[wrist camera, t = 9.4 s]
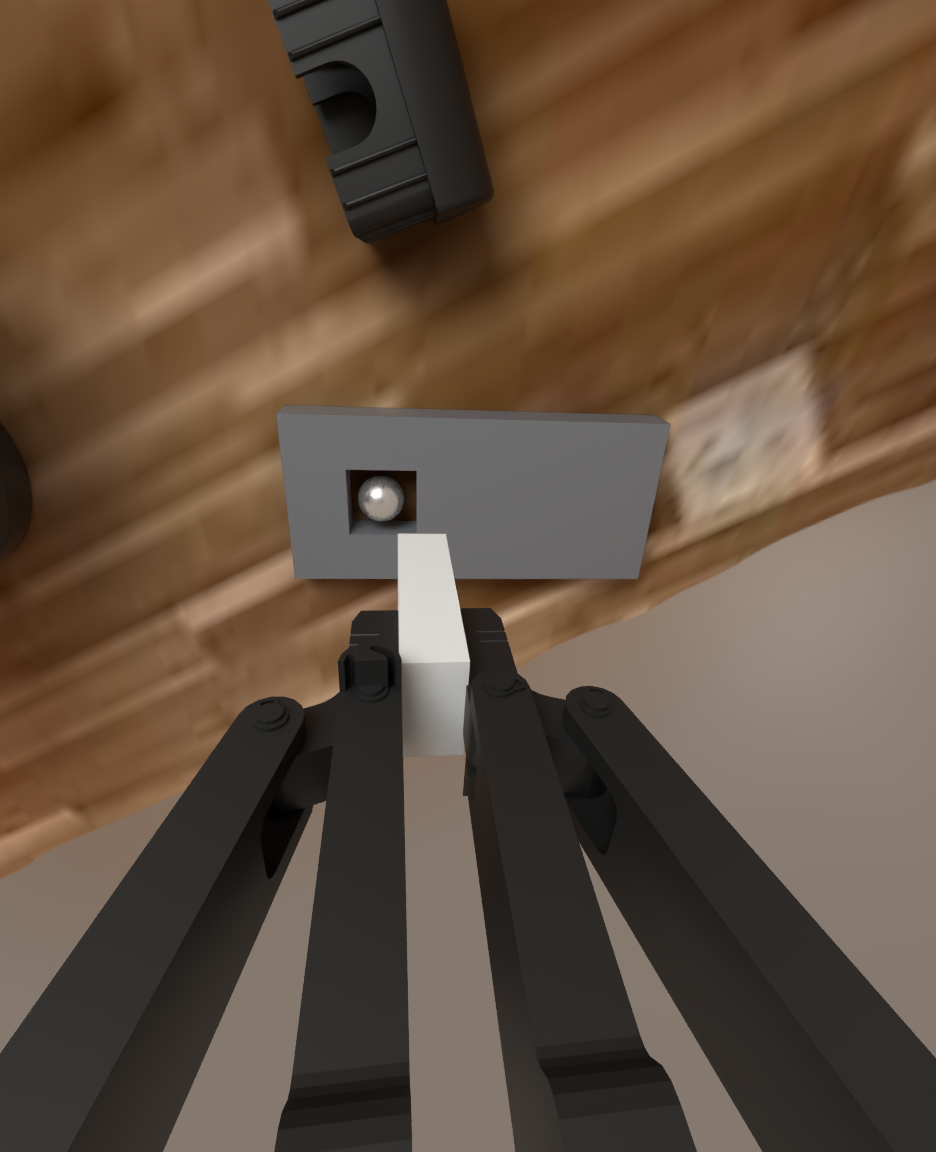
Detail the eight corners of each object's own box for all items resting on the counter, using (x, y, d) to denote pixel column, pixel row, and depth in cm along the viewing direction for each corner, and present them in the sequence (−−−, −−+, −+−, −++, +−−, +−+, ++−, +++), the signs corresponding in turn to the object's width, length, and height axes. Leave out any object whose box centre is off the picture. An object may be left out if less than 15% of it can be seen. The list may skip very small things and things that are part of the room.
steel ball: (408, 513, 39) (365, 510, 39) (407, 471, 37) (363, 468, 38) (399, 530, 36) (354, 526, 36) (398, 485, 35) (351, 482, 35)
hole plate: (301, 562, 40) (295, 578, 38) (285, 405, 35) (276, 413, 33) (626, 563, 42) (637, 579, 40) (655, 415, 37) (670, 424, 35)
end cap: (486, 206, 31) (503, 190, 25) (367, 251, 32) (355, 246, 26) (424, -36, 26) (427, -125, 20) (286, 23, 27) (248, -48, 21)
